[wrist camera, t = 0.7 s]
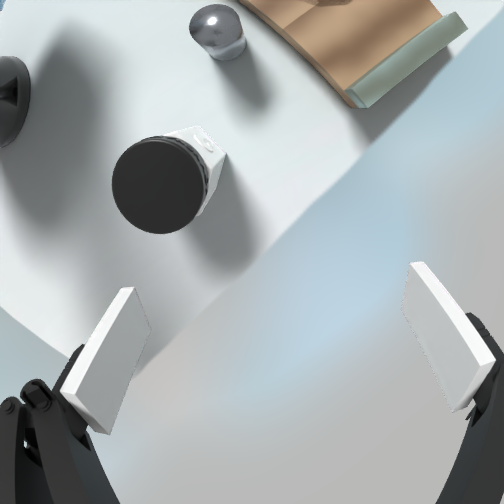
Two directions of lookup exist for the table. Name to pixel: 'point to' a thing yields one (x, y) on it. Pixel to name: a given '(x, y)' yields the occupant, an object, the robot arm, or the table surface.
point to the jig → (361, 39)
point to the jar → (167, 179)
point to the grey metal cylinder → (218, 31)
